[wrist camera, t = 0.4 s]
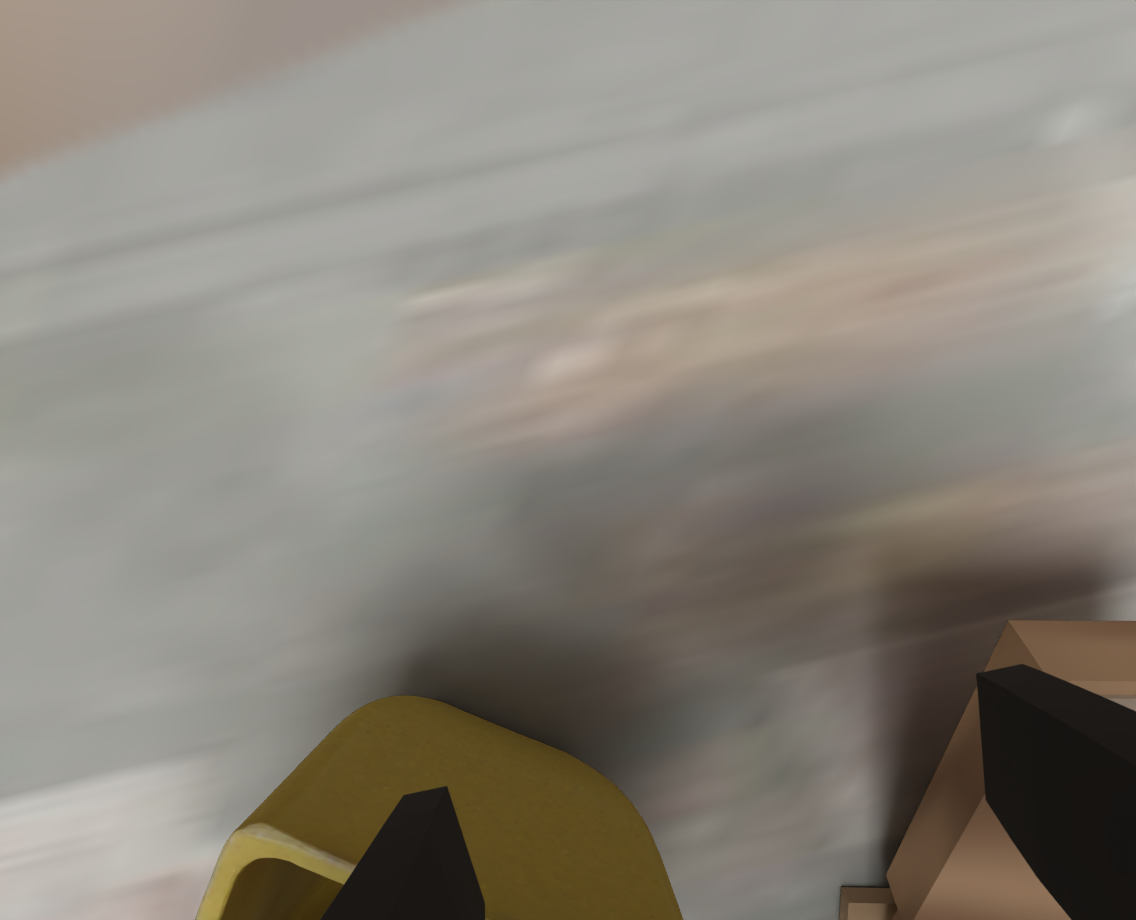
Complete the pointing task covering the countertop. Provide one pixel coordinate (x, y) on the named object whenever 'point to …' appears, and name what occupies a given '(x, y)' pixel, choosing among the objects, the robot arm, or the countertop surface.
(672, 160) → the countertop surface
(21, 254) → the countertop surface
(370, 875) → the robot arm
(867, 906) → the laid floor
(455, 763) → the flower pot
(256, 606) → the countertop surface
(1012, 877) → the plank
